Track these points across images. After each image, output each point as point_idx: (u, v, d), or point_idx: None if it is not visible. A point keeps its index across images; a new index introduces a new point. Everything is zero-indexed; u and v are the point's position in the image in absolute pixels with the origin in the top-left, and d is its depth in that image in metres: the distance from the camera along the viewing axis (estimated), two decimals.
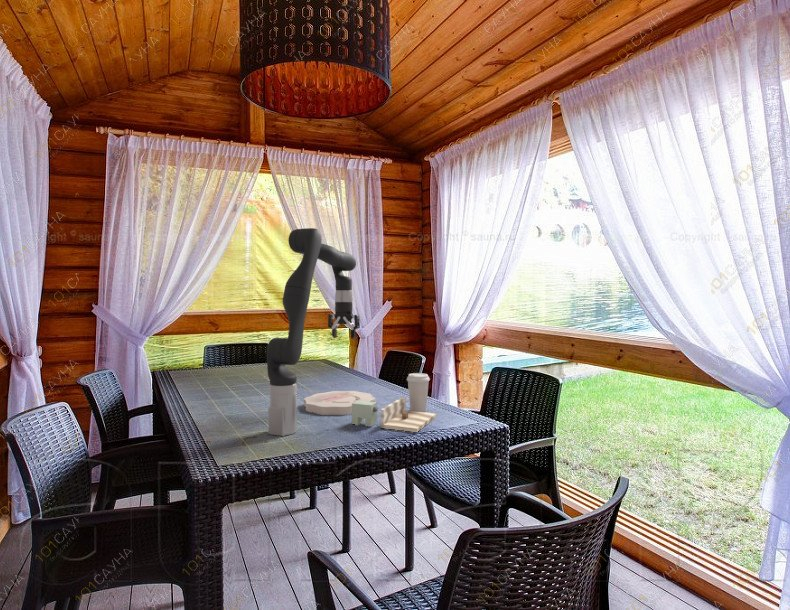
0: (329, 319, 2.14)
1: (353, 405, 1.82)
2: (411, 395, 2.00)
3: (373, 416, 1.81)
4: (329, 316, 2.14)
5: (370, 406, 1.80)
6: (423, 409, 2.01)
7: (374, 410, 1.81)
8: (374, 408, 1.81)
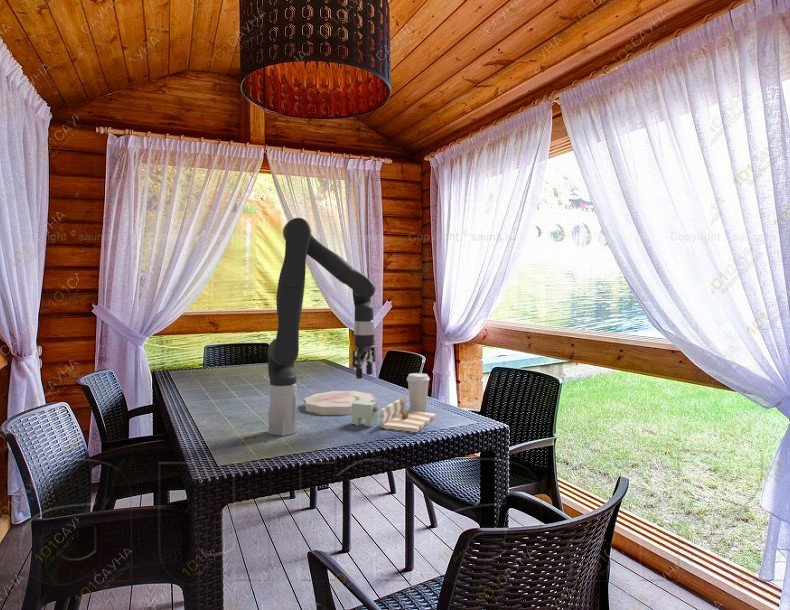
0: (359, 357, 1.76)
1: (353, 405, 1.82)
2: (411, 395, 2.00)
3: (373, 416, 1.81)
4: (359, 353, 1.76)
5: (370, 406, 1.80)
6: (423, 409, 2.01)
7: (374, 410, 1.81)
8: (374, 408, 1.81)
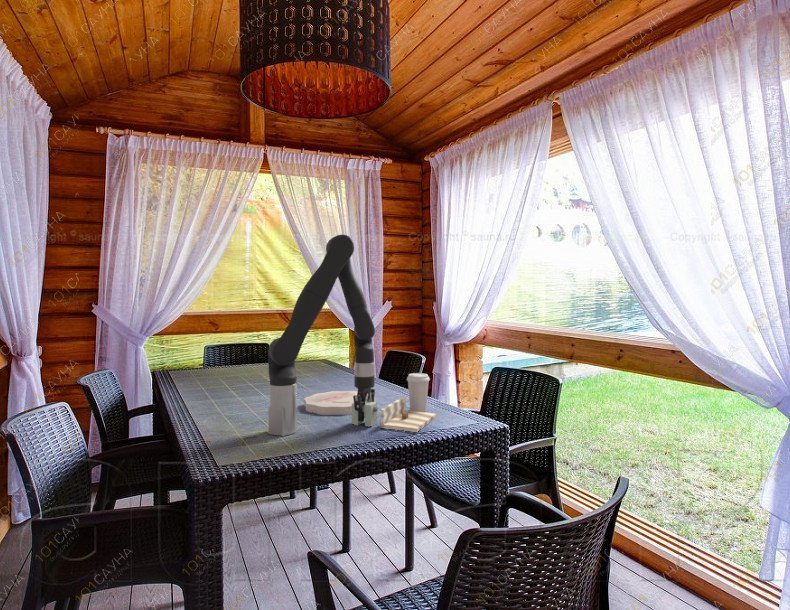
0: (360, 401, 1.78)
1: (353, 405, 1.82)
2: (411, 395, 2.00)
3: (373, 416, 1.81)
4: (360, 398, 1.77)
5: (370, 406, 1.80)
6: (423, 409, 2.01)
7: (374, 410, 1.81)
8: (374, 408, 1.81)
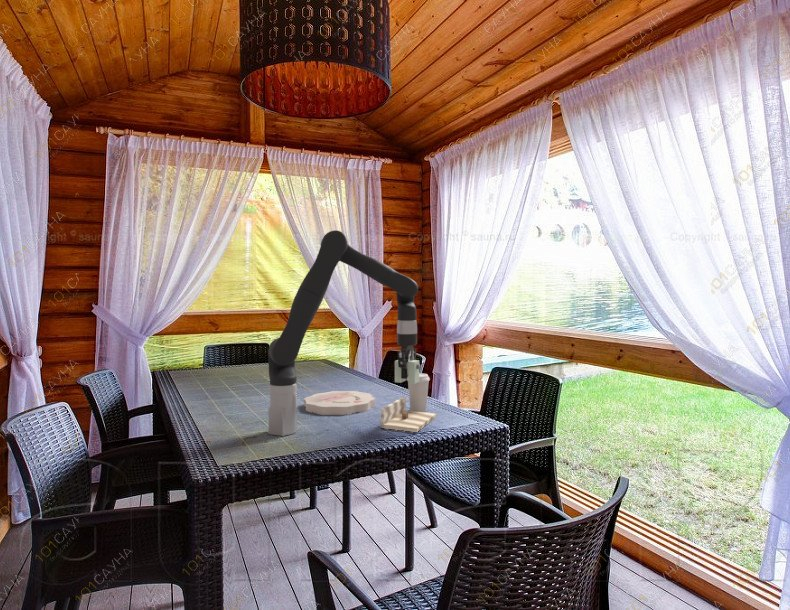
0: (404, 358, 1.79)
1: (396, 363, 1.84)
2: (411, 395, 2.00)
3: (416, 373, 1.83)
4: (404, 355, 1.79)
5: (413, 363, 1.81)
6: (423, 409, 2.01)
7: (417, 367, 1.82)
8: (417, 365, 1.83)
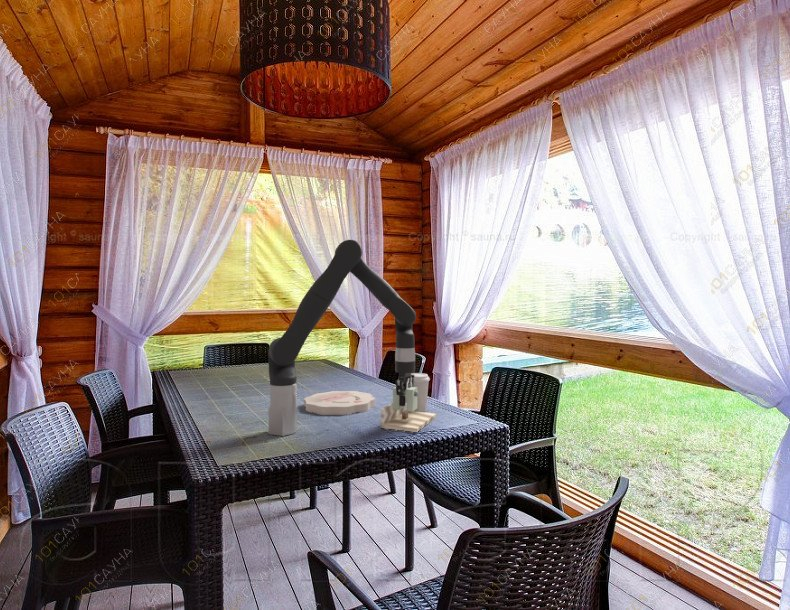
0: (402, 386, 1.80)
1: (394, 390, 1.84)
2: None
3: (414, 401, 1.84)
4: (402, 383, 1.79)
5: (411, 391, 1.82)
6: (423, 409, 2.01)
7: (415, 395, 1.83)
8: (415, 393, 1.83)
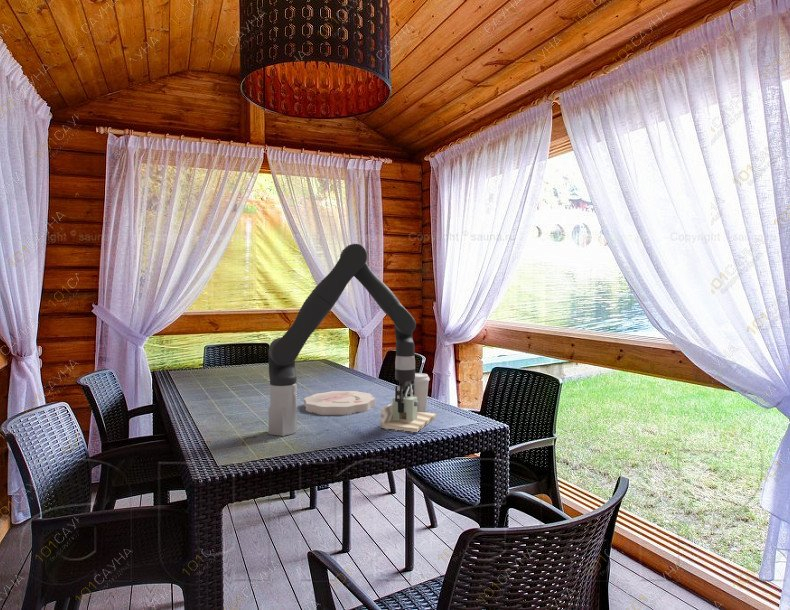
0: (401, 392, 1.79)
1: (394, 400, 1.85)
2: None
3: (414, 410, 1.84)
4: (402, 388, 1.79)
5: (411, 400, 1.82)
6: (423, 409, 2.01)
7: (415, 404, 1.83)
8: (415, 402, 1.83)
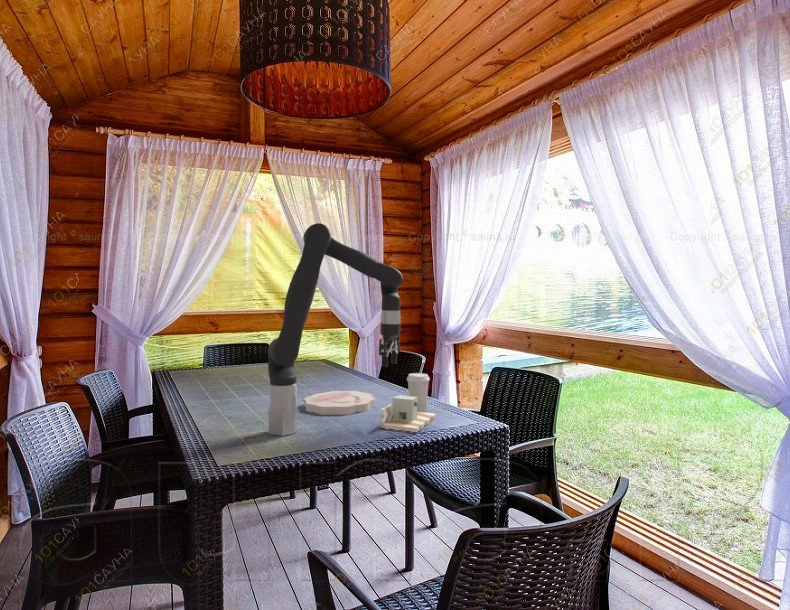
0: (385, 345, 1.79)
1: (394, 400, 1.85)
2: (411, 395, 2.00)
3: (414, 410, 1.84)
4: (386, 342, 1.79)
5: (411, 400, 1.82)
6: (423, 409, 2.01)
7: (415, 404, 1.83)
8: (415, 402, 1.83)
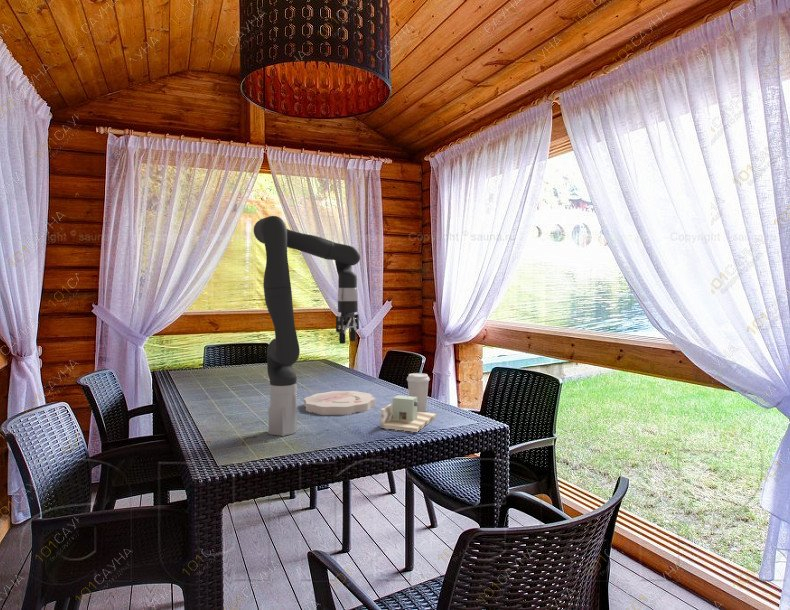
0: (342, 322, 1.81)
1: (394, 400, 1.85)
2: (411, 395, 2.00)
3: (414, 410, 1.84)
4: (342, 318, 1.81)
5: (411, 400, 1.82)
6: (423, 409, 2.01)
7: (415, 404, 1.83)
8: (415, 402, 1.83)
